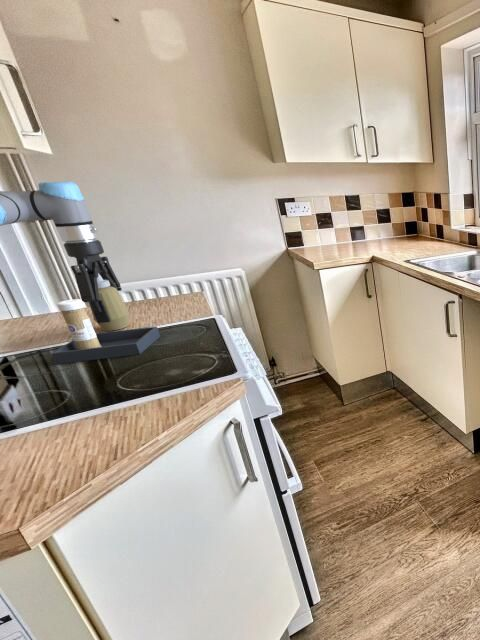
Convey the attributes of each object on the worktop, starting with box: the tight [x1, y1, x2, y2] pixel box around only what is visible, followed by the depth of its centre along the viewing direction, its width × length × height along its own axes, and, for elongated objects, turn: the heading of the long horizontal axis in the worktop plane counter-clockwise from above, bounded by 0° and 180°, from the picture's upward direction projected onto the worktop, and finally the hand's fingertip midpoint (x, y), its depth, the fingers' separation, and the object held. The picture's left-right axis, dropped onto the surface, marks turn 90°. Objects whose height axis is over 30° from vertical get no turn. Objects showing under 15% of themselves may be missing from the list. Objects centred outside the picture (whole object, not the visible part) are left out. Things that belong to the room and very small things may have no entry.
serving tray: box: [50, 326, 161, 365], centre depth 111 cm, size 17×13×3 cm
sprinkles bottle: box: [56, 298, 101, 350], centre depth 108 cm, size 5×5×14 cm
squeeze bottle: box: [88, 273, 131, 332], centre depth 124 cm, size 8×8×18 cm
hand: (112, 317), depth 126 cm, fingers open, 9 cm apart
